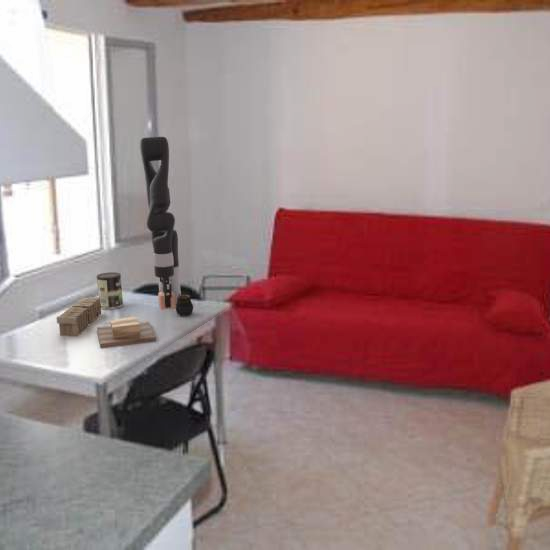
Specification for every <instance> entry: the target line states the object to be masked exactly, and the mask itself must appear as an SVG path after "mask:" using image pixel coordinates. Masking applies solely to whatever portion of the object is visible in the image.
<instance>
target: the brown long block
mask: <svg viewBox="0 0 550 550" xmlns="http://www.w3.org/2000/svg"><path fill="white" fill-rule="evenodd" d="M101 315H102V308H101V300H100V297H99V296H98V297H97V296H95V297H91V296H90V297H86V298H80V299H78V300H77V302H75V303H74V304H73V305H72V306H70V307H68V308H67V309H66V310H65V311H64V312H62V314H60V315H58V316H56V324H58V326H59V327H58V328H59V335H60V336H80V335H81V334H82V333H83V332H84V331H85V330H86V329H87V328H89V326H90V325H92V323H93V322H95V321H96V319H97V318H98V317H100V316H101Z"/></svg>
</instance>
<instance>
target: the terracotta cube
mask: <svg viewBox="0 0 550 550" xmlns="http://www.w3.org/2000/svg"><path fill="white" fill-rule="evenodd" d="M171 294H172V298H171V307H170V308H166V307H165V298H164V293H163V292H157V296H158V297H157V298H158V307H159V308H160V310H162V311H163V310H171V309H176V306H175V298H174V294H173V292H172V291H171ZM166 295H169V293H167V294H166Z"/></svg>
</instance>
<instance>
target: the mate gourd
mask: <svg viewBox="0 0 550 550" xmlns="http://www.w3.org/2000/svg"><path fill="white" fill-rule="evenodd" d="M178 295H179V296H178V297H177V304H176V306H175V312H176V314H177V315H178V316H181V317H188V316H190V315H192V314H193V310H194V305H193V303H192V300H191V295H189V294H181V295H180V294H178Z"/></svg>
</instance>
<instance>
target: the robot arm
mask: <svg viewBox="0 0 550 550" xmlns="http://www.w3.org/2000/svg"><path fill="white" fill-rule="evenodd" d="M139 150H140V156H141V162H142V166H143V172H144V177H145V178H144V179H145V188H146V198H147V199H146V200H147V205H148V215H147V218H146V226H147V229H148V230H149V231H150V232H151V242H152V248H153V267H154V268H153V269H154V276H155V277H156V278H158V291H159V292H163V293H164V298H165V307H166V308H170V307H171V298H172V294H171V291H172V292H173V294H174V298H175V307H176V304H177V297H178V296H179V295H178V294H180V295H182V291H181V280H180V276H181V275H180V264H179V238H178V232H177V230H176V229H174V228H175V225H176V219H175V215H174V214H173V213H172V212H169V211H168V210H169V208H170V206H171V196H170V195H171V194H170V188H169V186H168V185H169V184H168V183H169V169H170V168H169V167H170V166H169V165H170V145H169V141H168V139H167V137H166V136H151V137H142V138H141V139H140V141H139ZM156 161H160V166H159V168H158V170H155V168H154V166H153V164H152V162H156ZM159 292H158V293H159ZM167 293H169V295H166V294H167Z"/></svg>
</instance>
